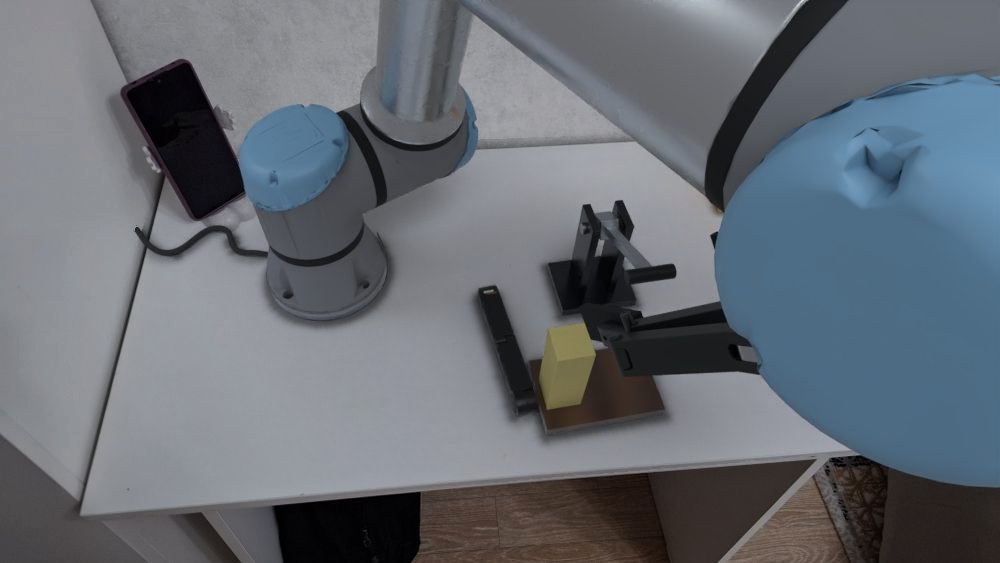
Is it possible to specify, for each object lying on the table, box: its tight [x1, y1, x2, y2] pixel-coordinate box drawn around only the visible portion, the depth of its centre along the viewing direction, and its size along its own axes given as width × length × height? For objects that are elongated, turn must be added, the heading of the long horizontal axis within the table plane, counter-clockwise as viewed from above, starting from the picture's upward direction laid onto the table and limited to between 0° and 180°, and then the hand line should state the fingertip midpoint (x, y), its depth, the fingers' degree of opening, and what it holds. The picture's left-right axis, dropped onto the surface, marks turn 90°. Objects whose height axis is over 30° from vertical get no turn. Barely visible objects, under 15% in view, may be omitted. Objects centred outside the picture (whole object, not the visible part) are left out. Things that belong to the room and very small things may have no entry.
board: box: [527, 347, 666, 436], centre depth 73 cm, size 14×9×2 cm, turn 101°
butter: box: [539, 322, 596, 410], centre depth 67 cm, size 4×4×11 cm
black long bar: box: [477, 284, 539, 418], centre depth 75 cm, size 18×3×3 cm, turn 16°
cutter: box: [546, 199, 637, 317], centre depth 77 cm, size 8×10×14 cm
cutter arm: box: [594, 210, 678, 286], centre depth 68 cm, size 15×5×2 cm, turn 11°
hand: (656, 282), depth 48 cm, fingers open, 13 cm apart
